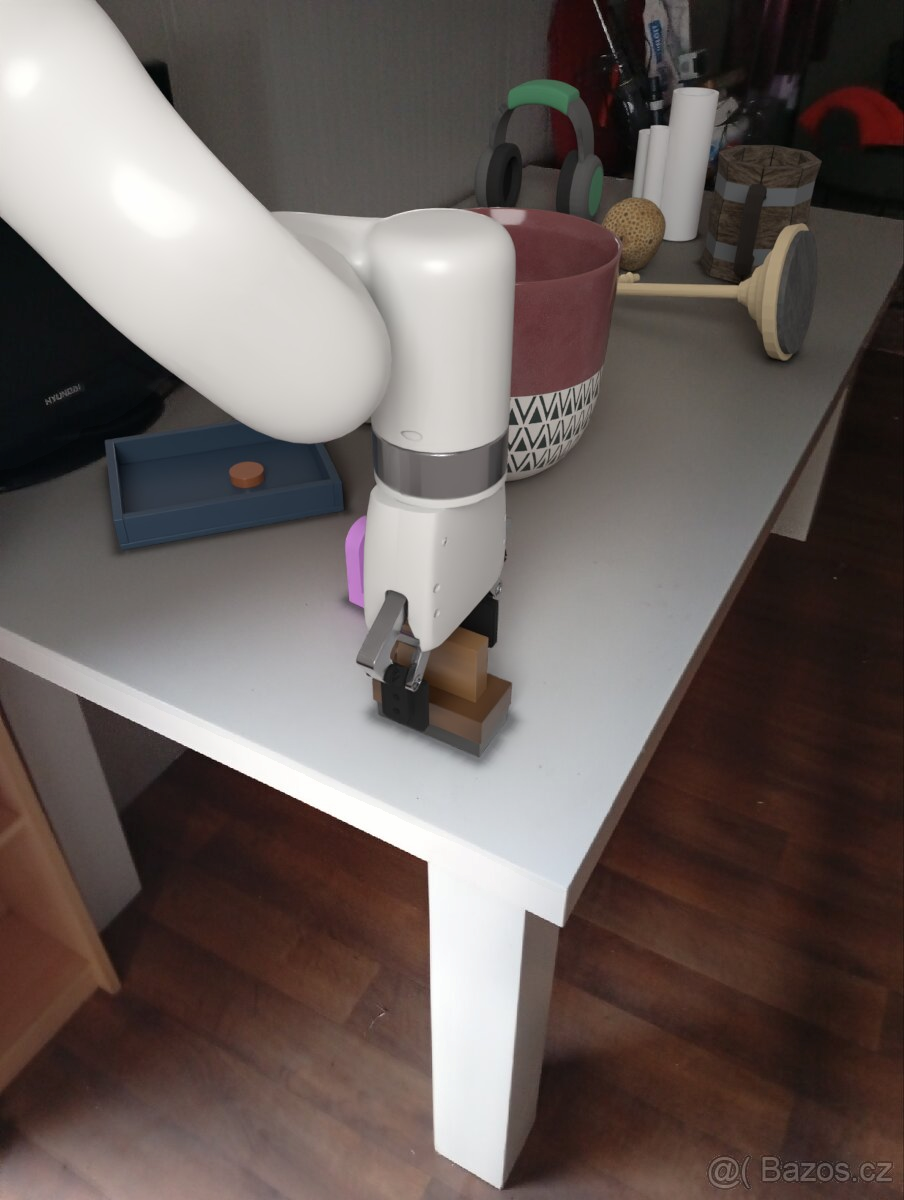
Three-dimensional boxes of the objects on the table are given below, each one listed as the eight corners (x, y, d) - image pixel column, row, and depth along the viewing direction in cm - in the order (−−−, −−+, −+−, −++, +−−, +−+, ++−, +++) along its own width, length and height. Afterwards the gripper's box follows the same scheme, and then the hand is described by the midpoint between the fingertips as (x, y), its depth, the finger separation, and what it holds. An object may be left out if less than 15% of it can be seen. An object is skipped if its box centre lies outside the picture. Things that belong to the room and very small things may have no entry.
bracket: (403, 628, 73) (400, 555, 69) (349, 601, 76) (343, 528, 72) (499, 550, 81) (502, 480, 77) (448, 528, 84) (448, 459, 80)
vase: (702, 231, 150) (724, 89, 137) (687, 244, 145) (710, 98, 132) (633, 220, 154) (650, 82, 142) (618, 233, 149) (633, 90, 137)
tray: (121, 550, 81) (113, 520, 79) (111, 468, 92) (104, 439, 90) (344, 510, 86) (341, 481, 84) (310, 436, 97) (307, 409, 95)
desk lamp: (828, 214, 111) (530, 219, 132) (729, 259, 86) (380, 256, 107) (815, 342, 118) (534, 328, 139) (720, 419, 93) (393, 387, 114)
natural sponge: (614, 285, 131) (622, 210, 125) (583, 265, 138) (590, 192, 131) (670, 277, 134) (681, 203, 128) (638, 257, 140) (646, 186, 134)
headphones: (602, 218, 155) (616, 80, 143) (582, 237, 147) (594, 93, 135) (495, 204, 161) (499, 71, 149) (469, 222, 153) (471, 83, 141)
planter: (498, 400, 104) (505, 194, 90) (639, 467, 92) (671, 244, 79) (357, 460, 93) (342, 238, 80) (496, 545, 82) (505, 303, 69)
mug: (707, 248, 143) (725, 140, 134) (800, 259, 140) (825, 149, 130) (684, 292, 129) (702, 175, 120) (786, 306, 125) (814, 186, 116)
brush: (374, 715, 66) (367, 627, 61) (407, 677, 69) (404, 590, 64) (480, 760, 63) (483, 671, 58) (510, 719, 66) (515, 630, 61)
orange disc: (233, 490, 88) (231, 481, 87) (228, 473, 90) (226, 464, 90) (267, 484, 89) (266, 475, 88) (261, 468, 91) (260, 459, 90)
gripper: (458, 376, 60) (457, 592, 71) (290, 505, 48) (319, 741, 59) (566, 403, 57) (548, 624, 68) (416, 548, 45) (423, 787, 56)
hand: (442, 678), depth 63 cm, fingers open, 8 cm apart
